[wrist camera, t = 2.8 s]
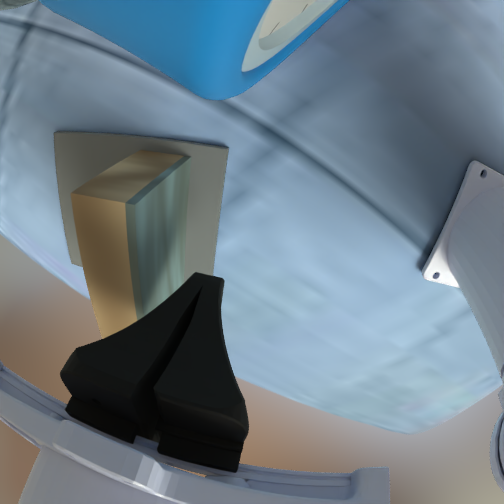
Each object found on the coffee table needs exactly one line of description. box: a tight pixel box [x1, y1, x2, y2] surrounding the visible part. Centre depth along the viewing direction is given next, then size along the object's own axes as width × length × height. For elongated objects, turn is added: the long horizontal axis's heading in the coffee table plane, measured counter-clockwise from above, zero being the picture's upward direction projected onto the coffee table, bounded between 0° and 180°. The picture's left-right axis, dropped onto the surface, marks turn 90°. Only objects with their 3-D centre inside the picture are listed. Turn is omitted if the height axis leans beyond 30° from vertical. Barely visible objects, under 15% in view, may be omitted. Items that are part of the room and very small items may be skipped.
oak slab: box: [71, 150, 191, 339], centre depth 14 cm, size 3×9×6 cm, turn 171°
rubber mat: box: [54, 131, 229, 282], centre depth 17 cm, size 12×10×1 cm
